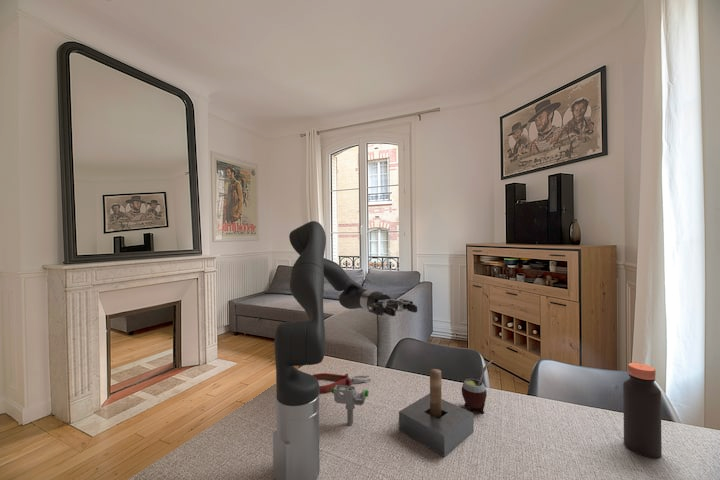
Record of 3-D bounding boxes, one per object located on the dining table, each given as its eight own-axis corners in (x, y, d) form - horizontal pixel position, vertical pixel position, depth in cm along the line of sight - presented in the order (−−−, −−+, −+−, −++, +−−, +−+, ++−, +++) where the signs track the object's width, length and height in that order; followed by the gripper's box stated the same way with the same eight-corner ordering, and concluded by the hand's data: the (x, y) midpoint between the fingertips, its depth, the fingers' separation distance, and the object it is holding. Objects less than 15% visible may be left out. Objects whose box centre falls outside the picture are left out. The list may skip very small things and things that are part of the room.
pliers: (374, 389, 105) (374, 381, 105) (313, 396, 100) (313, 388, 100) (366, 374, 117) (366, 367, 117) (311, 380, 112) (311, 373, 112)
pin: (437, 435, 79) (437, 374, 79) (427, 430, 81) (427, 371, 81) (443, 431, 81) (443, 371, 81) (434, 426, 83) (434, 367, 83)
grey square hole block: (444, 457, 71) (444, 436, 71) (399, 429, 81) (398, 411, 82) (473, 431, 81) (473, 413, 81) (429, 410, 91) (429, 393, 91)
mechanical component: (367, 429, 82) (366, 392, 82) (331, 425, 84) (330, 389, 84) (369, 422, 85) (368, 387, 85) (334, 418, 87) (333, 384, 87)
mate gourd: (457, 407, 92) (456, 358, 92) (472, 399, 97) (471, 352, 97) (479, 419, 86) (479, 366, 86) (494, 409, 91) (493, 360, 91)
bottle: (641, 459, 70) (641, 372, 70) (616, 439, 77) (615, 361, 77) (670, 458, 70) (669, 372, 70) (642, 439, 77) (641, 361, 77)
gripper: (357, 293, 101) (386, 300, 87) (391, 289, 108) (423, 296, 94) (357, 315, 101) (387, 327, 87) (391, 310, 108) (423, 320, 94)
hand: (405, 310), depth 91 cm, fingers open, 8 cm apart
